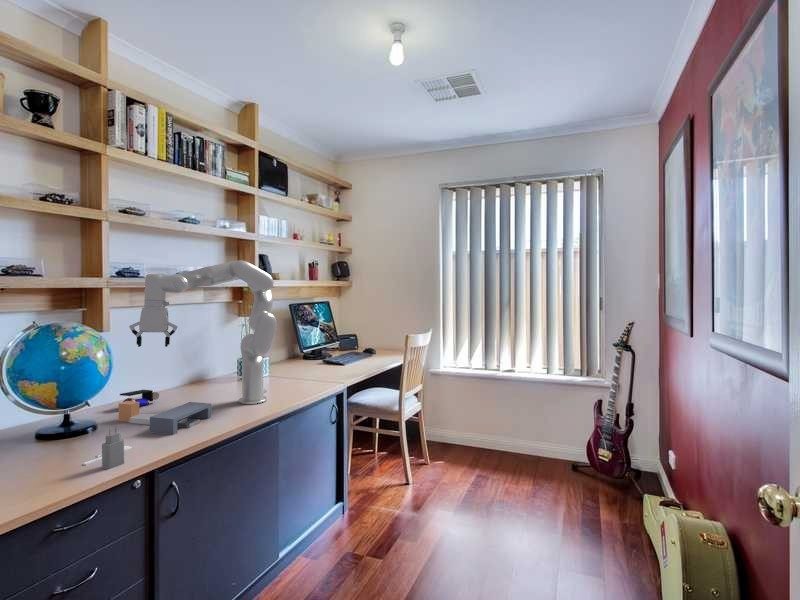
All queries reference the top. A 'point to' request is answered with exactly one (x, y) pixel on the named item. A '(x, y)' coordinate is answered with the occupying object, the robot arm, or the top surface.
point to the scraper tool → (132, 413)
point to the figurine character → (146, 396)
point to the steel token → (188, 423)
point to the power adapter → (112, 450)
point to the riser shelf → (178, 417)
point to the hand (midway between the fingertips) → (153, 346)
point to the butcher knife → (101, 456)
